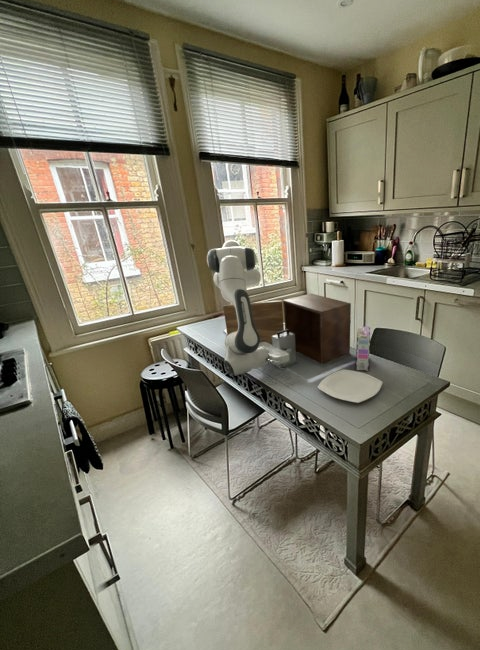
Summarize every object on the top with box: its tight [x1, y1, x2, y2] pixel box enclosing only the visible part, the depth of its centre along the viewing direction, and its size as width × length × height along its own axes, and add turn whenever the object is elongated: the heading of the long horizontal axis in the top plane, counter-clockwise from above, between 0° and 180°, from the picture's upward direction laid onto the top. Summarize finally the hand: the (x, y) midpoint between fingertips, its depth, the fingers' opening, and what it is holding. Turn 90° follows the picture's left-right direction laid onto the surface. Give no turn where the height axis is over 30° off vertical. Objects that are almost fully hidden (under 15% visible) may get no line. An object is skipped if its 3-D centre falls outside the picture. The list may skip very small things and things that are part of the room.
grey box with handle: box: [272, 329, 297, 370], centre depth 146 cm, size 6×9×17 cm, turn 128°
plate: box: [317, 368, 384, 404], centre depth 127 cm, size 23×23×2 cm
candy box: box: [355, 325, 371, 372], centre depth 143 cm, size 14×6×16 cm, turn 168°
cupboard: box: [282, 293, 352, 365], centre depth 155 cm, size 18×28×26 cm, turn 38°
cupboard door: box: [222, 300, 285, 345], centre depth 161 cm, size 7×28×26 cm, turn 98°
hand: (285, 347), depth 147 cm, fingers closed on grey box with handle, 5 cm apart
